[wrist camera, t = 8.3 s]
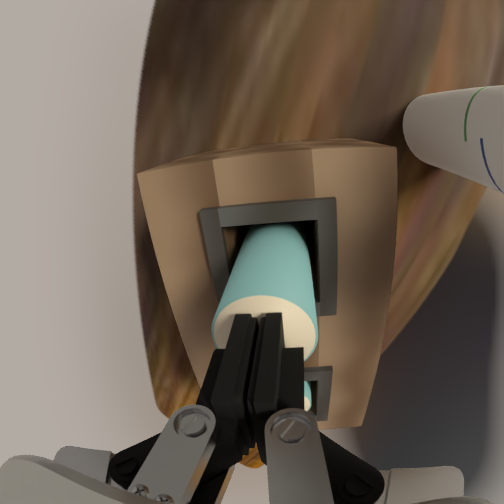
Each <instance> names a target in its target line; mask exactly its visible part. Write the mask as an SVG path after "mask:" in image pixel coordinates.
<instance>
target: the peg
mask: <svg viewBox="0 0 504 504" xmlns="http://www.w3.org/2000/svg"><path fill="white" fill-rule="evenodd" d="M277 312H282V318H283V330H284V342H285V348H294V347H304V361H305V360H307V359H308V358H309V357H310V356H311V354H312V353H313V351H314V350H315V347H316V345H317V342H318V327H317V317H316V308H315V299H314V290H313V282H312V274H311V266H310V259H309V251H308V244H307V237H306V230H305V224H304V221H290V222H276V223H264V224H251V225H250V226H249V229H248V231H247V234H246V236H245V239H244V241H243V244H242V246H241V249H240V252H239V254H238V257H237V259H236V262H235V264H234V267H233V270H232V272H231V275H230V277H229V280H228V282H227V285H226V288H225V290H224V293H223V295H222V298H221V301H220V303H219V306H218V308H217V311H216V314H215V316H214V319H213V322H212V327H211V332H212V338H213V341H214V344H215V345H216V347H217V349H225V348H226V344H227V341H228V337H229V334H230V331H231V327H232V324H233V320H234V317H235V314H251V315H252V317H257V320H258V327H259V325H260V319H261V317H266V313H277Z"/></svg>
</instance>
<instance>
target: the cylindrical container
mask: <svg viewBox="0 0 504 504" xmlns="http://www.w3.org/2000/svg"><path fill="white" fill-rule="evenodd" d="M403 133H404V137H405V140H406V143H407V145H408V147H409V148H410V150H411V152H412V153H413V154H414V155H415V156H416V157H417V158H418V159H420V160H421V161H423V162H425V163H427V164H429V165H432V166H435V167H438V168H441V169H444V170H446V171H449V172H452V173H455V174H457V175H460V176H462V177H465V178H467V179H470V180H472V181H475V182H477V183H480V184H482V185H484V186H487V187H489V188H491V189H493V190H496V191H498V192H500V193H502V194H504V85H501V86H489V87H477V88H468V89H460V90H453V91H446V92H439V93H433V94H427V95H422V96H419V97H417V98H415V99H414V100H412V101H411V103H410V104H409V105H408V107H407V108H406V110H405V113H404V117H403Z"/></svg>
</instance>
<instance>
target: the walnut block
mask: <svg viewBox="0 0 504 504" xmlns="http://www.w3.org/2000/svg"><path fill="white" fill-rule="evenodd" d="M137 177H138V182H139V187H140V191H141V196H142V201H143V205H144V209H145V214H146V218H147V222H148V226H149V230H150V234H151V238H152V242H153V246H154V250H155V254H156V257H157V261H158V265H159V268H160V272H161V275H162V279H163V282H164V285H165V289H166V292H167V295H168V298H169V302H170V305H171V308H172V311H173V314H174V317H175V320H176V323H177V326H178V329H179V332H180V335H181V338H182V341H183V343H184V346H185V349H186V352H187V355H188V357H189V360H190V363H191V365H192V368H193V371H194V373H195V376H196V378H197V381H198V383H199V386H200V388H201V387H202V384H203V381H204V378H205V375H206V372H207V369H208V366H209V363H210V360H211V357H212V354H213V352H214V350H215V349H217V347H216V345H215V344H214V341H213V338H212V332H211V327H212V322H213V319H214V316H215V314H216V311H217V308H218V306H219V303H220V301H221V298H222V295H223V293H224V290H225V288H226V285H227V282H228V280H229V277H230V275H231V272H232V270H233V267H234V264H235V262H236V259H237V257H238V254H239V252H240V249H241V246H242V244H243V241H244V239H245V236H246V234H247V231H248V229H249V226H250V225H251V224H264V223H276V222H290V221H304V220H308V229H305V230H306V237H307V244H308V251H309V259H310V266H311V274H312V282H313V290H314V299H315V308H316V317H317V327H318V342H317V345H316V347H315V350H314V351H313V353H312V354H311V356H310V357H309V358H308V359H307V360H305V361H304V381H311V408H310V409H309V410H308V411H307V412H309V413H311V414H312V415H313V416H314V417H315V419H316V422H317V424H318V429H319V430H324V429H336V428H346V427H355V426H361V425H362V422H363V419H364V415H365V412H366V409H367V405H368V402H369V398H370V394H371V391H372V387H373V383H374V379H375V375H376V370H377V366H378V362H379V357H380V353H381V348H382V343H383V337H384V332H385V327H386V321H387V315H388V308H389V301H390V294H391V286H392V278H393V268H394V258H395V246H396V230H397V202H398V172H397V147H393V146H389V145H384V144H379V143H374V142H369V141H363V140H358V139H352V138H338V139H316V140H301V141H288V142H277V143H267V144H258V145H249V146H241V147H234V148H227V149H220V150H213V151H207V152H201V153H197V154H193V155H190V156H187V157H184V158H181V159H178V160H175V161H172V162H169V163H166V164H163V165H160V166H157V167H154V168H151V169H149V170H146V171H143V172H140V173H138V174H137Z"/></svg>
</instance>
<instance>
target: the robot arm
mask: <svg viewBox="0 0 504 504" xmlns="http://www.w3.org/2000/svg"><path fill="white" fill-rule="evenodd" d="M255 443H257V447H258V450H259V454H260V458H261V461H262V462H263V463H264V464H265V465H267V473H268V487H269V501H270V504H492V503H491V502H490V501H488V500H486V499H482V498H476V497H463V496H464V478H463V474H462V473H461V471H460V470H459V469H457V468H456V467H453V466H440V467H428V468H406V469H392V470H391V471H378V470H377V469H376V468H374V467H373V466H371V465H369V464H368V463H366V462H364V461H363V460H361V459H360V458H358V457H357V456H355V455H353V454H352V453H350V452H349V451H347V450H345V449H344V448H343V447H341V446H340V445H338V444H337V443H335V442H334V441H332V440H331V439H329V438H328V437H326V436H325V435H324V434H322V433H321V432H320V431H319V429H318V424H317V422H316V419H315V417H314V416H313V415H312V414H311V413H309V412H307V411H305V410H304V347H294V348H285V342H284V330H283V318H282V312H277V313H266V317H261V319H260V325H259V327H258V320H257V317H252V315H251V314H235V317H234V320H233V324H232V327H231V331H230V334H229V337H228V341H227V344H226V348H225V349H215V350H214V352H213V354H212V357H211V360H210V363H209V366H208V369H207V372H206V375H205V378H204V381H203V384H202V387H201V390H200V393H199V396H198V399H197V402H196V405H187V406H184V407H182V408H180V409H178V410H177V411H175V412H174V413H173V415H172V416H171V417H170V419H169V421H168V422H167V424H166V426H165V428H164V429H163V431H162V432H161V433H159V434H157V435H155V436H153V437H151V438H149V439H147V440H145V441H142V442H140V443H138V444H136V445H134V446H131V447H129V448H127V449H125V450H123V451H120V452H119V453H117V454H113V453H112V452H111V451H102V450H94V449H86V448H80V447H73V446H65V447H63V448H61V449H60V450H59V451H58V452H57V454H56V456H55V459H54V461H52V460H49V459H47V458H43V457H39V456H33V455H19V456H14V457H12V458H10V459H8V460H7V461H6V462H5V463H4V464H3V465H2V466H1V468H0V504H221V501H222V499H223V496H224V494H225V491H226V489H227V486H228V483H229V481H230V479H231V476H232V474H233V471H234V468H235V464H236V463H238V462H239V461H241V460H242V457H243V455H248V454H249V448H254V447H255Z"/></svg>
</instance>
